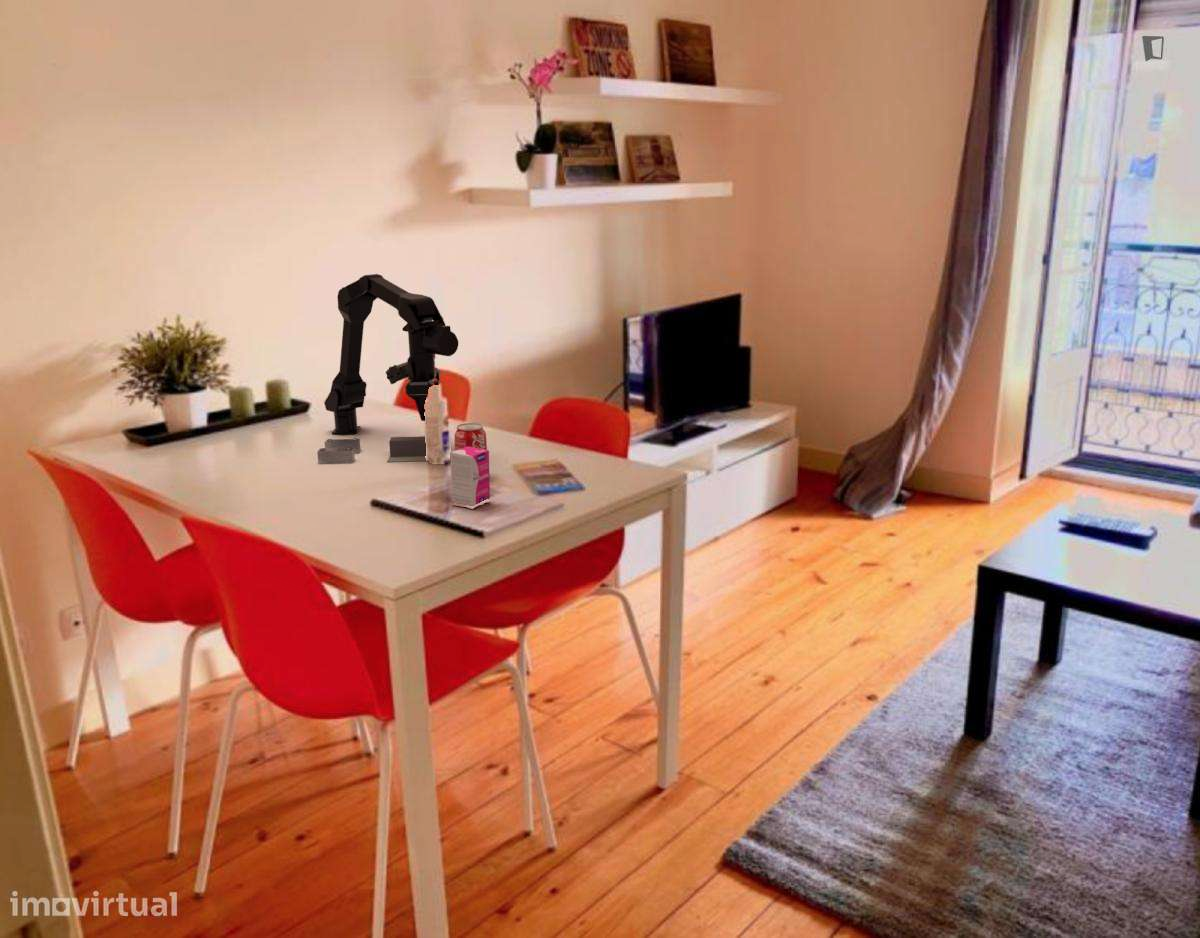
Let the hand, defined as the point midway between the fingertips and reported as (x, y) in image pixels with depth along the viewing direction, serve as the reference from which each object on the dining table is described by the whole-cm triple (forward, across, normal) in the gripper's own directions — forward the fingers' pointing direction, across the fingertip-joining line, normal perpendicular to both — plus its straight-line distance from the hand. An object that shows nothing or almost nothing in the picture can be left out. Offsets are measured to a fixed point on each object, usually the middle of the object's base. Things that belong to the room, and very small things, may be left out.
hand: (425, 416), depth 231 cm
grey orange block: (+10, 0, -3) cm, 10 cm away
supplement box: (+10, +37, +13) cm, 41 cm away
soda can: (+10, +19, +12) cm, 25 cm away
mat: (+10, 0, -4) cm, 10 cm away
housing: (+10, 0, -21) cm, 23 cm away
